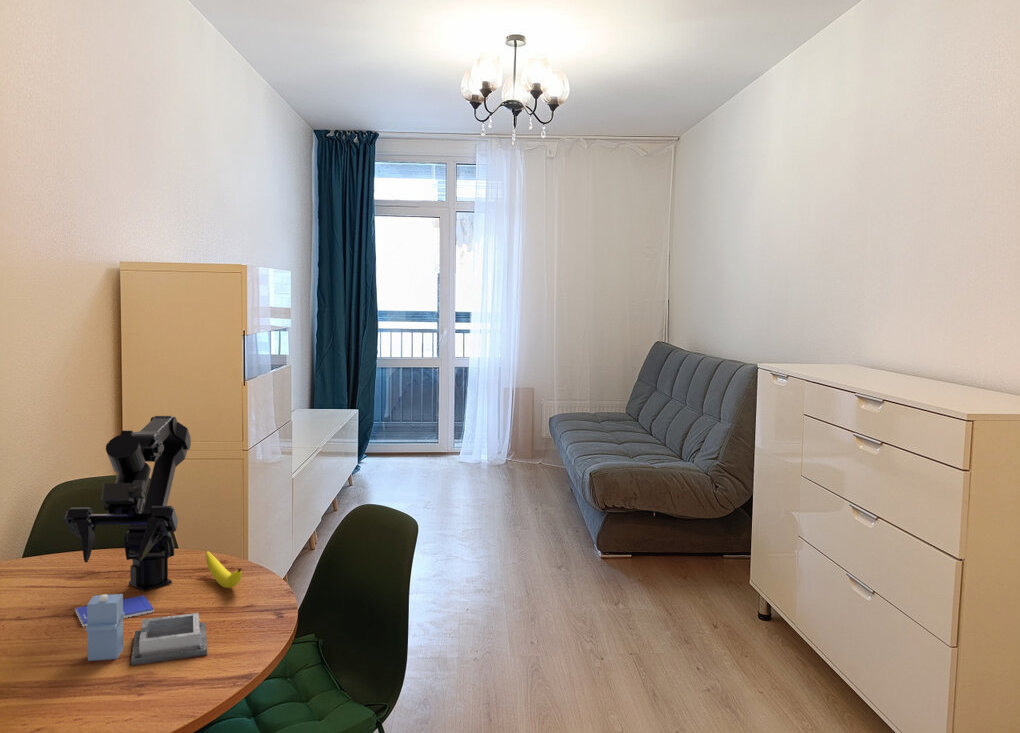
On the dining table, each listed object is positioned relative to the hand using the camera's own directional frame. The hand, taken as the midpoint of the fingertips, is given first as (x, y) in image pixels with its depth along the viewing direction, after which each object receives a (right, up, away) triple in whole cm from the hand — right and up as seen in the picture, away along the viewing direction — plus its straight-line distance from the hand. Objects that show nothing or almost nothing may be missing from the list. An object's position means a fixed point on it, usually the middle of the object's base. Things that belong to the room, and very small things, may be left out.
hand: (112, 560), depth 139 cm
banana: (+10, -12, +27) cm, 31 cm away
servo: (+2, -15, -6) cm, 16 cm away
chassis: (+12, -15, -2) cm, 19 cm away
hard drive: (-5, -14, +11) cm, 18 cm away
